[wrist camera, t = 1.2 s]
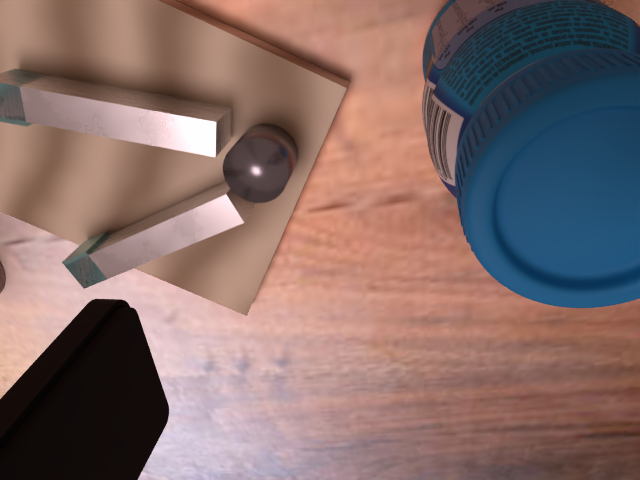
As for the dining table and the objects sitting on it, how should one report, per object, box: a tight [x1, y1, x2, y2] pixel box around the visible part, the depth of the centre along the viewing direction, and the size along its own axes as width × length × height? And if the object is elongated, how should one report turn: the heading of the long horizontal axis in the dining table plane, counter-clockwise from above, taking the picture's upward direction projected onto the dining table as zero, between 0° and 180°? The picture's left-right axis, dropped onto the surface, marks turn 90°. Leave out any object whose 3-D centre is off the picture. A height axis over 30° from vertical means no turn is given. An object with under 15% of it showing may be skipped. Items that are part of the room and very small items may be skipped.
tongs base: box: [0, 68, 298, 203], centre depth 33 cm, size 19×5×5 cm, turn 82°
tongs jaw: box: [62, 182, 256, 288], centre depth 36 cm, size 14×2×3 cm, turn 117°
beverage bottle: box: [422, 0, 640, 308], centre depth 21 cm, size 8×8×20 cm
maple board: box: [0, 0, 349, 316], centre depth 36 cm, size 22×20×2 cm
